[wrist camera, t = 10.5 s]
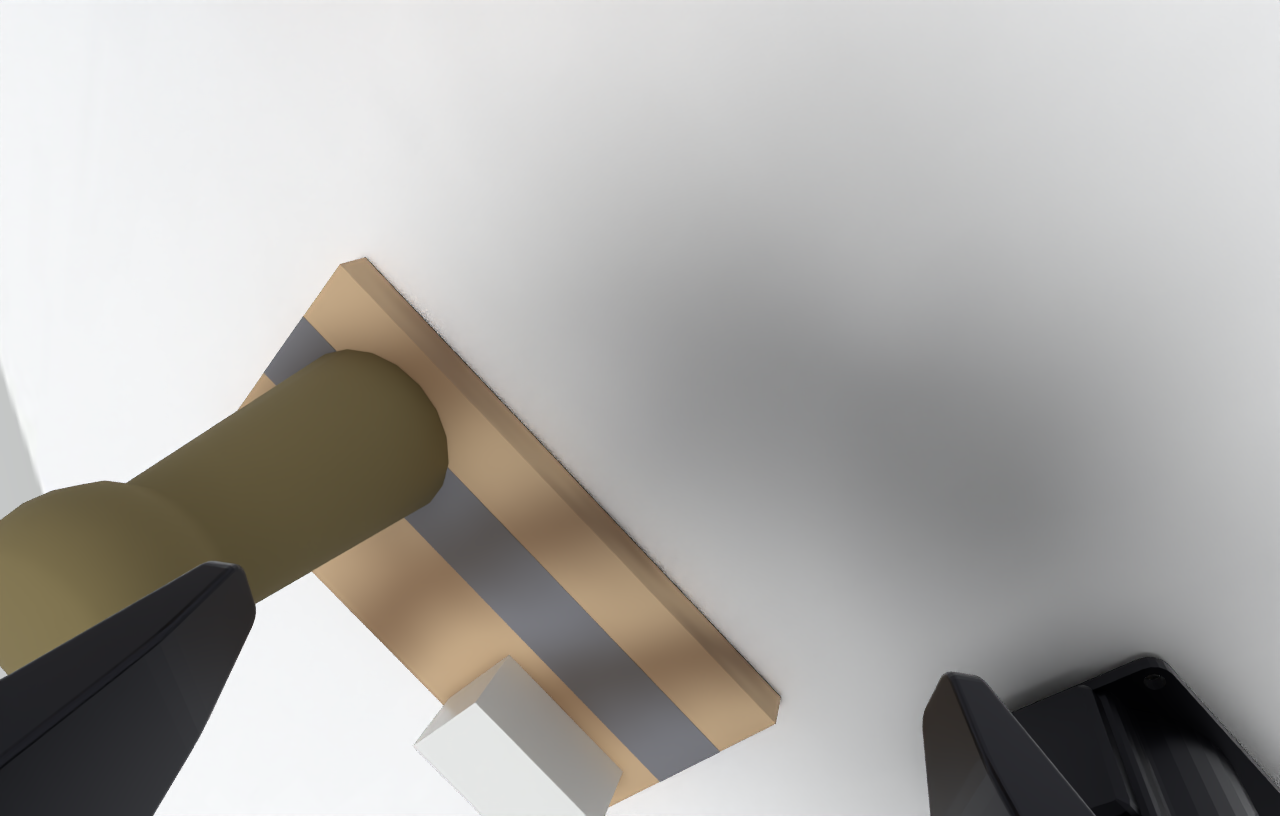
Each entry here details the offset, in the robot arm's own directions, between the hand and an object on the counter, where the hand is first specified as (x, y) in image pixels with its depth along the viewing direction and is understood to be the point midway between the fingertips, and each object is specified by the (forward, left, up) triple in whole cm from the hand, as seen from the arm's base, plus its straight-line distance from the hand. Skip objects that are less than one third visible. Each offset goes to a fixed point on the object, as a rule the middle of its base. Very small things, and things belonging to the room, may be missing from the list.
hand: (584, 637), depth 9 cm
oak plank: (0, +13, -13) cm, 18 cm away
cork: (+6, +11, -12) cm, 17 cm away
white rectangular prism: (-6, +16, -11) cm, 20 cm away
